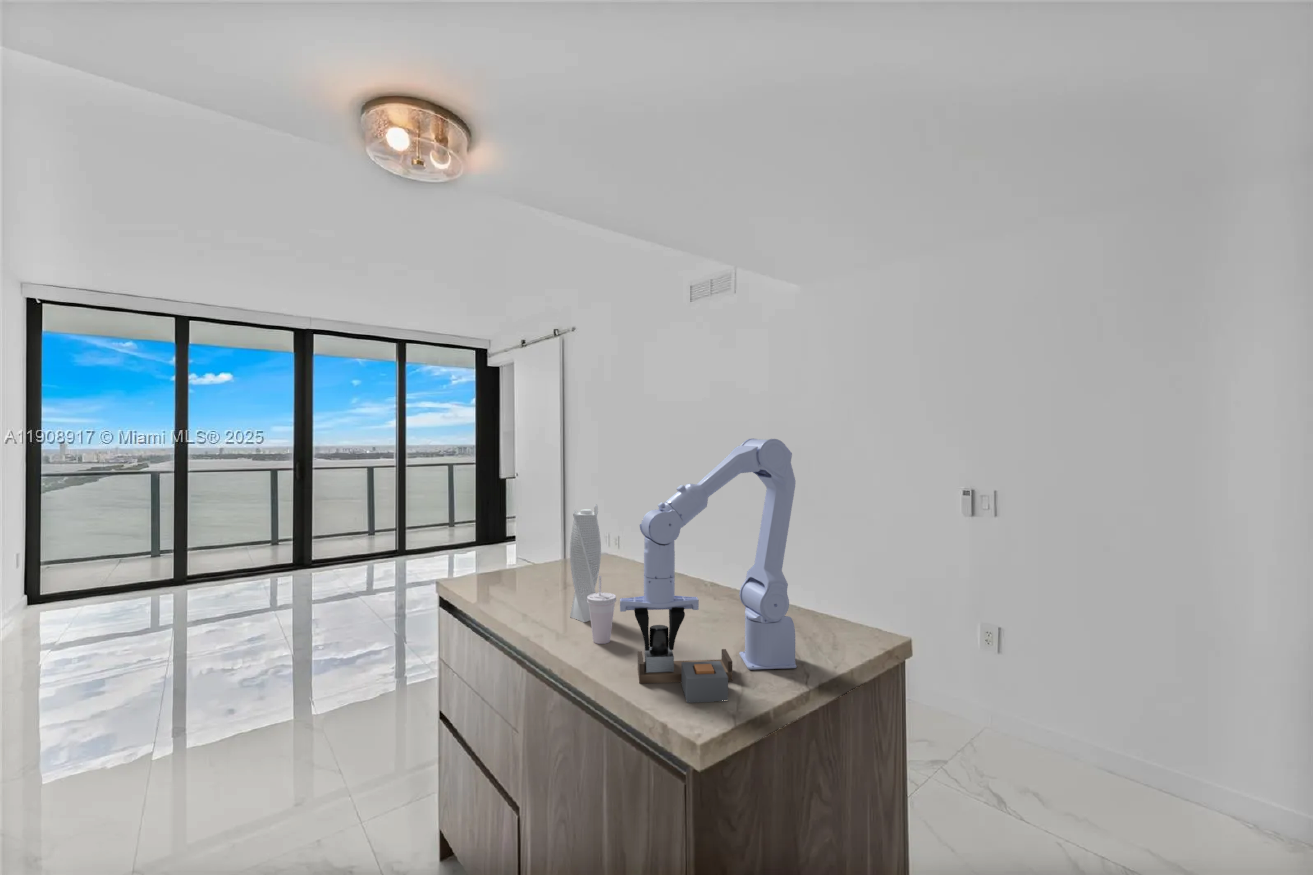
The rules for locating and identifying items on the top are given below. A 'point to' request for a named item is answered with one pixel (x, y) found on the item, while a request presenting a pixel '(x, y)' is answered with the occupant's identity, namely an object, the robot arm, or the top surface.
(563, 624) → the top surface
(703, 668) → the button
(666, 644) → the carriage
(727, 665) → the rail
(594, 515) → the skyscraper
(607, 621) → the smoothie
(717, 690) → the block
